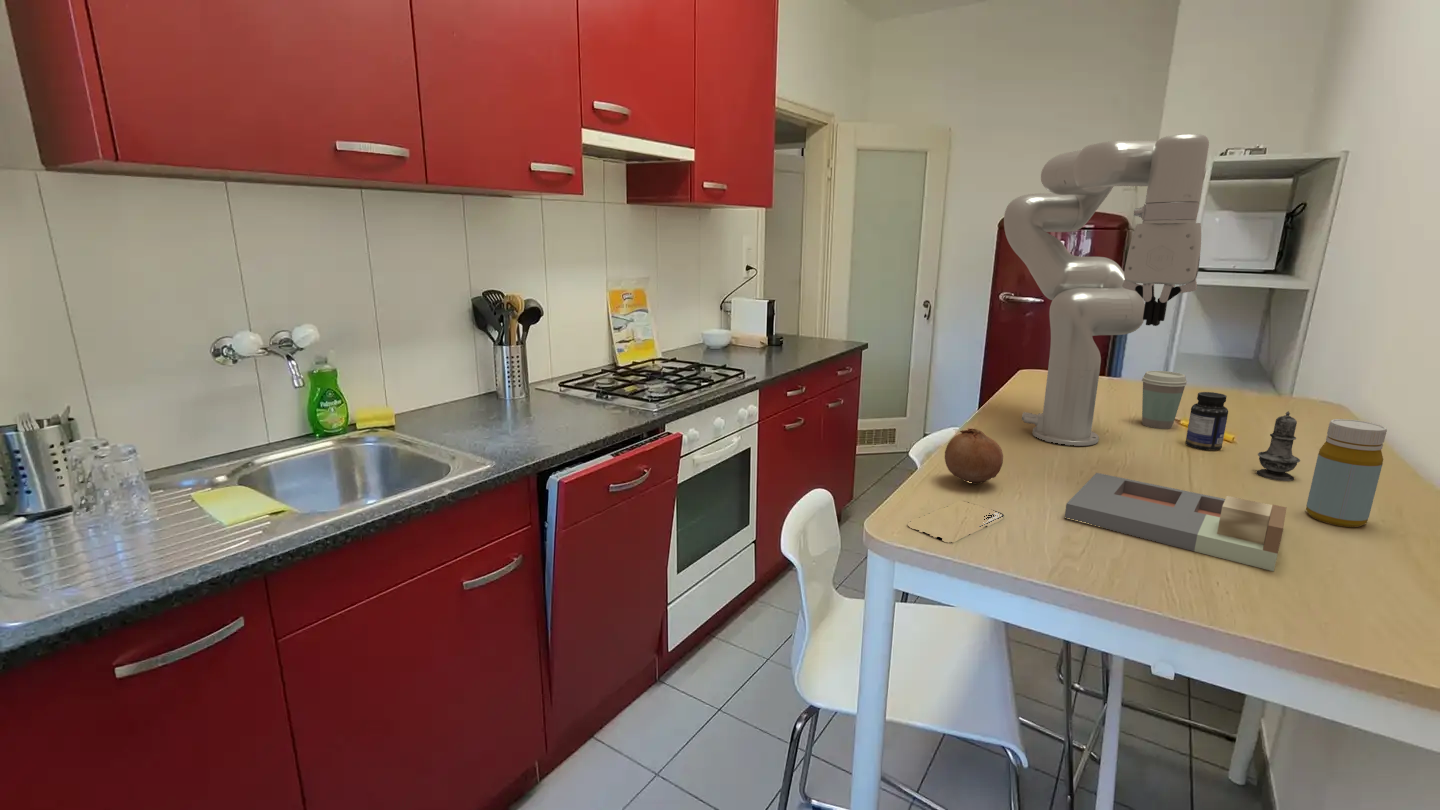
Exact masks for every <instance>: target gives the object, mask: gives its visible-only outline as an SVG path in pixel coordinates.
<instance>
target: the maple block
mask: <svg viewBox="0 0 1440 810" xmlns="http://www.w3.org/2000/svg"><path fill="white" fill-rule="evenodd" d="M1224 499H1225V501H1224V504H1223V506H1222V511H1221V516H1220V521H1219V526H1218V531H1217V534H1221V535H1226V536H1230V537H1234V538H1238V539H1243V540H1247V541H1251V542H1255V543H1259V544H1264V540H1265V536H1266V532H1267V528H1268V523H1269V519H1270V514H1271V509H1272V505H1273V504H1269V503H1263V502H1258V501H1254V500H1250V499H1243V498H1238V497H1235V496H1230V495H1226V496H1225V498H1224Z"/></svg>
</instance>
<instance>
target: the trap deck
mask: <svg viewBox="0 0 1440 810" xmlns="http://www.w3.org/2000/svg"><path fill="white" fill-rule="evenodd" d="M1225 499H1226V498H1223V497H1222V498H1221V497H1218V496H1212V495H1209V494H1208V495H1207V494H1203V493H1198V492H1193V491H1188V490H1185V489H1184V490H1183V489H1177V488H1172V487H1169V486H1163V485H1159V484H1154V483H1149V482H1144V481H1139V480H1135V479H1131V478H1125V477H1124V478H1123V477H1119V476H1115V475H1111V474H1105V473H1100V472H1095V473H1094V474H1093V476H1091V477H1090V479H1088V481H1087V482H1086V483H1085V484H1083V486H1082V487H1081V488H1080V489H1079V490H1078V491H1077V492H1076V493H1075V494H1074V495H1073V497H1071V499H1069V500H1068V501H1067V503H1066V505H1065V512H1064V518H1065V517H1066V518H1070V519H1074V520H1078V521H1082V522H1086V523H1089V524H1092V525H1096V526H1100V527H1103V528H1106V529H1105V530H1107V529H1110V530H1109V531H1111V530H1113V531H1112V532H1115V531H1117V532H1116V533H1119V532H1121V533H1120V534H1123V533H1124V534H1123V535H1127V534H1129V535H1128V536H1131V535H1132V537H1135V536H1136V537H1135V538H1139V537H1140V539H1143V538H1144V540H1147V539H1148V541H1151V540H1152V542H1155V541H1156V543H1159V544H1164V545H1168V546H1172V547H1176V548H1178V549H1184V550H1187V551H1192V552H1195V553H1199V554H1203V555H1207V556H1210V557H1215V558H1218V559H1219V558H1220V559H1223V560H1227V561H1230V562H1235V563H1238V564H1243V565H1247V566H1250V567H1255V568H1259V569H1262V570H1263V569H1264V570H1266V571H1271V572H1275V567H1276V563H1277V559H1278V555H1279V549H1280V545H1281V541H1282V536H1283V532H1284V526H1285V520H1286V519H1285V518H1286V515H1287V506H1282V505H1276V504H1271V505H1272V509H1271V514H1270V519H1269V523H1268V528H1267V532H1266V536H1265V540H1264V544H1259V543H1255V542H1251V541H1247V540H1243V539H1238V538H1234V537H1230V536H1226V535H1221V534H1217V531H1218V526H1219V521H1220V516H1221V511H1222V506H1223V504H1224V501H1225ZM1103 528H1102V529H1103Z"/></svg>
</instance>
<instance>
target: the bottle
mask: <svg viewBox="0 0 1440 810" xmlns="http://www.w3.org/2000/svg"><path fill="white" fill-rule="evenodd" d="M1387 431H1388V430H1387V427H1386V426H1384V425H1381V424H1377V423H1376V422H1375V423H1373V422H1369V421H1365V420H1358V419H1357V420H1356V419H1348V418H1336V419H1331V420H1330V421H1329V424H1328V428H1327V433H1326V434H1327V435H1326V438H1325V441H1324V443H1323V444H1322V446H1321V447H1320V448H1319V450H1318V454H1317V457H1316V463H1315V467H1314V472H1313V475H1312V480H1311V485H1310V489H1309V493H1308V496H1307V501H1306V507H1305V510H1306V512H1307V513H1308V515H1309V516H1310V517H1311V518H1313V519H1315V520H1318V521H1319V522H1322V523H1325V524H1327V525H1332V526H1338V527H1343V528H1344V527H1345V528H1359V527H1362V526H1363V525H1365V524H1367V523H1368V521H1369V519H1370V514H1371V510H1372V506H1373V502H1374V499H1375V495H1376V491H1377V487H1378V484H1379V479H1380V476H1381V471H1382V467H1383V464H1384V463H1383V462H1384V456H1383V452H1382V450H1383V447H1384V443H1385V440H1386V435H1387Z"/></svg>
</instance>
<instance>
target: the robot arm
mask: <svg viewBox="0 0 1440 810" xmlns="http://www.w3.org/2000/svg"><path fill="white" fill-rule="evenodd" d="M1209 141H1210V140H1209V137H1207V136H1206V135H1204V134H1201V133H1200V134H1199V133H1183V134H1182V133H1181V134H1174V135H1168V136H1167V135H1166V136H1163V137H1161V138H1159V139H1158V140H1148V139H1147V140H1145V139H1144V140H1143V139H1142V140H1141V139H1139V140H1136V139H1134V140H1132V139H1131V140H1129V139H1127V140H1125V139H1124V140H1110V141H1103V142H1097V143H1092V144H1088V145H1086V146H1084V147H1083V148H1082V149H1079V150H1072V151H1068V152H1064V153H1060V154H1058V155H1055V156H1053V157H1052V158H1050V159H1049V160H1048V161H1047V162H1046V163H1045V164H1044V165H1043V167H1042V169H1041V172H1040V180H1041V181H1040V182H1041V185H1042V186H1043V187H1044V188H1045V189H1046V190H1047V191H1048V192H1050V193H1045V192H1044V193H1041V192H1040V193H1030V194H1029V193H1028V194H1024V195H1020V196H1017V197H1016V198H1014V199H1012V200H1011V201H1010V202H1009V203H1008V205H1007V206H1006V209H1005V210H1004V215H1003V229H1004V232H1005V233H1004V234H1005V237H1006V239H1007V242H1008V245H1010V248H1011V249H1012V251H1013V252H1014V253H1015V254H1016V256H1018V257H1019V258H1020V260H1021V261H1022V262H1023V263H1024V264H1025V266H1026V267H1027V270H1028V271H1029V273H1030V274H1031V276H1032V278H1033V280H1034V281H1035V283H1036V284H1037V286H1038V288H1039V289H1040V292H1041V293H1042V294H1043V295H1044V297H1045V298H1047V299H1048V300H1050V301H1051V303H1050V306H1049V326H1050V327H1049V328H1050V347H1049V359H1048V366H1047V367H1048V369H1047V377H1046V384H1045V385H1046V386H1045V392H1044V400H1043V401H1044V402H1043V410H1042V413H1037V414H1035V413H1032V412H1025V411H1023V412H1022V415H1021V421H1023V422H1024V423H1027V424H1032V425H1035V427H1033V429H1032V435H1033V437H1034V438H1036V437H1037V438H1036V439H1038V438H1039V440H1041V439H1042V440H1041V441H1043V440H1045V441H1044V442H1048V443H1051V442H1053V443H1052V444H1055V443H1058V444H1057V445H1061V444H1065V445H1064V446H1070V445H1074V446H1075V447H1086V446H1087V447H1088V446H1093V445H1096V444H1097V443H1099V441H1100V436H1099V434H1098V433H1096V432H1094V431H1092V429H1093V421H1094V414H1095V407H1096V406H1095V405H1096V399H1097V393H1098V386H1099V378H1100V377H1099V376H1100V371H1101V363H1102V357H1101V352H1100V350H1099V347H1098V346H1097V344H1096V342H1095V341H1094V338H1093V337H1094V336H1095V337H1096V336H1119V335H1120V336H1121V335H1129V334H1131V333H1134V332H1136V331H1138V329H1140V328H1141V327H1142V325H1143V324H1144V322H1145V325H1146V326H1151V325H1152V326H1153V327H1157V326H1159V325H1160V324H1161V322H1164V321H1165V318H1166V313H1167V306H1168V302H1169V301H1171V300H1172V299H1173V298H1175V297H1176V296H1177V295H1179V294H1183V293H1184V294H1185V293H1190V292H1195V291H1197V289H1198V285H1197V277H1198V274H1199V268H1200V262H1201V261H1200V260H1201V259H1200V258H1201V252H1202V250H1201V249H1202V224H1201V222H1197V219H1198V215H1199V214H1198V213H1199V207H1200V201H1201V197H1202V196H1201V195H1202V189H1203V184H1204V179H1205V172H1206V171H1205V170H1206V166H1207V158H1208V154H1209V153H1208V152H1209V148H1210V142H1209ZM1114 187H1147V188H1146V189H1147V190H1146V195H1145V202H1144V203H1143V206H1141V207H1139V208H1134V211H1133V217H1138V218H1140V219H1141V221H1142V222H1141V223H1136V224H1135V227H1134V230H1133V234H1132V235H1131V239H1130V243H1129V247H1128V253H1127V256H1126V257H1127V258H1126V262H1125V266H1124V270H1123V269H1122V267H1121V266H1120V265H1119V263H1117V262H1116V260H1115V261H1114V260H1113V259H1111V258H1108V257H1104V256H1081V255H1080V256H1079V255H1073V254H1071V252H1070V251H1069V250H1068V249H1067V248H1066V246H1065V244H1064V243H1063V242H1062V241H1061V240H1060V239H1059V238H1057V237H1056V236H1054V235H1052V234H1050V233H1070V232H1076V231H1078V230H1080V229H1082V228H1083V227H1084V226H1085V225H1086V224H1087V223H1088V222H1089V220H1091V218H1092V217H1093V216H1094V214H1095V213H1096V211H1097V210H1098V209H1099V208H1100V206H1101V205H1102V204H1103V202H1104V201H1105V200H1106V198H1107V197H1108V195H1109V194H1110V193H1111V191H1112V190H1113V189H1114ZM1155 285H1163V287H1162V290H1161V292H1160V296H1159V298H1156V297H1155ZM1176 285H1177V286H1176ZM1156 299H1157V301H1156ZM1074 446H1073V447H1074Z"/></svg>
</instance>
